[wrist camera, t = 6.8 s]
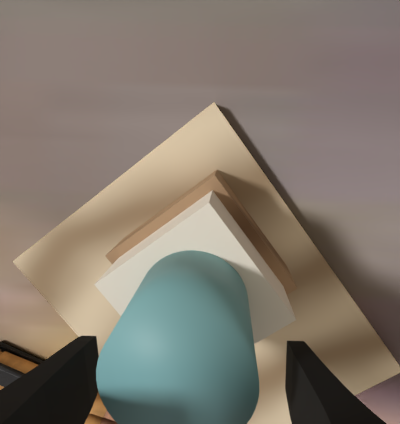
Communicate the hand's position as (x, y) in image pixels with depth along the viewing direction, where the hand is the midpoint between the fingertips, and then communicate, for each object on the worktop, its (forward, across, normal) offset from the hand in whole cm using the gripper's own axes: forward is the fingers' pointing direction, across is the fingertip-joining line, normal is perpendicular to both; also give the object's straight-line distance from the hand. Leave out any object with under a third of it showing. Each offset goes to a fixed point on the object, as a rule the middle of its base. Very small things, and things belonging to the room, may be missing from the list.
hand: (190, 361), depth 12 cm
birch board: (+8, 0, +3) cm, 9 cm away
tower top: (+5, 0, -2) cm, 5 cm away
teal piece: (+2, 0, -2) cm, 2 cm away
